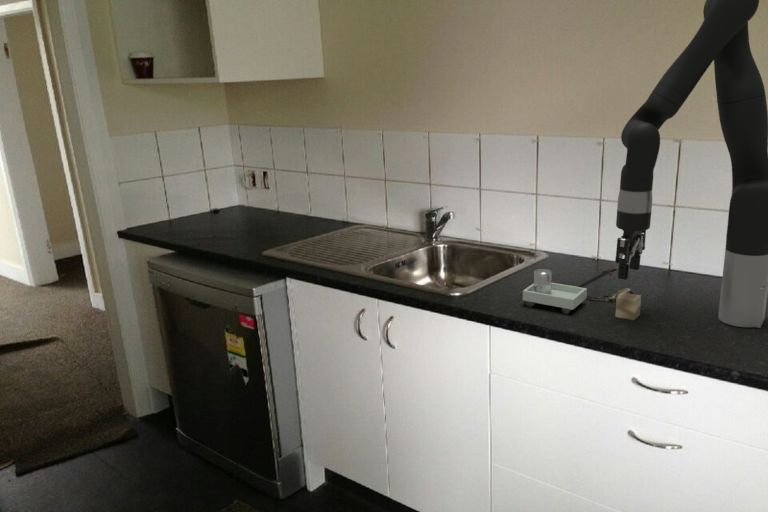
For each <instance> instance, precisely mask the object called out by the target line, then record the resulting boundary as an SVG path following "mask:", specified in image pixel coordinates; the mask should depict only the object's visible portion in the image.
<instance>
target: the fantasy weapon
mask: <svg viewBox="0 0 768 512" xmlns="http://www.w3.org/2000/svg"><path fill="white" fill-rule="evenodd" d="M617 268H618V266H615V267H612V268H610V269H607V270H602V271H601V272H600V274H599V275H596V276H594V277H592V278H590V279H589V280H587V281H585V282H583V283H581V284H579V285H577V286H576V287H581V288H582V287H583V286H585V285H587V284H589V283H590V282H593V281H594V280H596V279H598V278H600V277H603V276H605V275H607V274H612V271H614V270H615V269H617ZM622 292H623V293H630V294H634V293H635V291H634V290H632V289H631V288H628V287H627V288H626V287H625V288H621V289H620V290H618V291H616V292H614V294H611V295H603V296H602V297H601V296H591V295H587V298H586V299H589V301H590V302H596V303H610V302H611V303H613V304H614V302H615V303H616V298H617V297H618V296H619V295H620V294H621V293H622Z"/></svg>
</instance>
